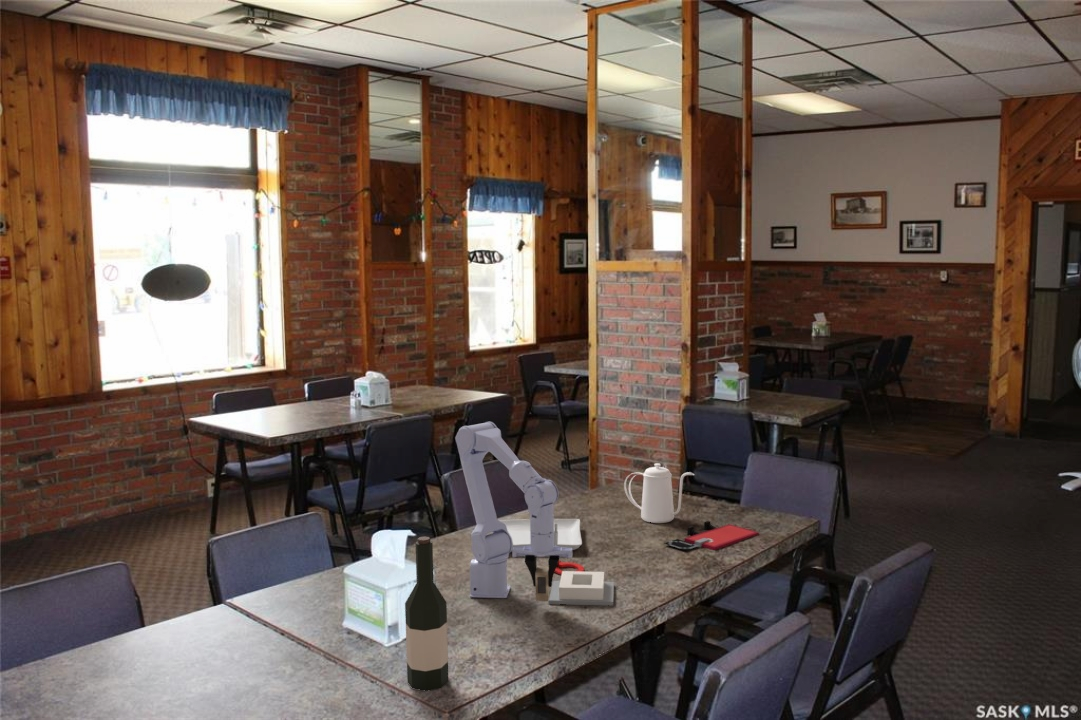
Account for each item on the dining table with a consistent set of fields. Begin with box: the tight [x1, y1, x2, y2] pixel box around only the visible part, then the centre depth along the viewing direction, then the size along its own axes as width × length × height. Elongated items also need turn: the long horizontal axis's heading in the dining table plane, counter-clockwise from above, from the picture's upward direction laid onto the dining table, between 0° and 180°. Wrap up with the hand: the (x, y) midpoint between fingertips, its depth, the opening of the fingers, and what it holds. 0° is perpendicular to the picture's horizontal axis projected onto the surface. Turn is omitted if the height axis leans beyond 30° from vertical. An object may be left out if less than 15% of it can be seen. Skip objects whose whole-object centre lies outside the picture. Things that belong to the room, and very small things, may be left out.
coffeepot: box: [623, 462, 695, 524], centre depth 294 cm, size 11×25×19 cm, turn 58°
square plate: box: [498, 518, 583, 553], centre depth 273 cm, size 27×27×4 cm
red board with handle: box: [663, 520, 760, 551], centre depth 273 cm, size 30×3×15 cm
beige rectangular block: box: [535, 565, 551, 602], centre depth 217 cm, size 3×5×7 cm, turn 175°
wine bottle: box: [404, 536, 449, 692], centre depth 180 cm, size 8×8×30 cm
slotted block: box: [548, 570, 615, 607], centre depth 228 cm, size 16×14×4 cm
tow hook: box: [554, 524, 585, 576], centre depth 246 cm, size 8×13×9 cm
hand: (542, 585), depth 218 cm, fingers closed on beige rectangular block, 3 cm apart
